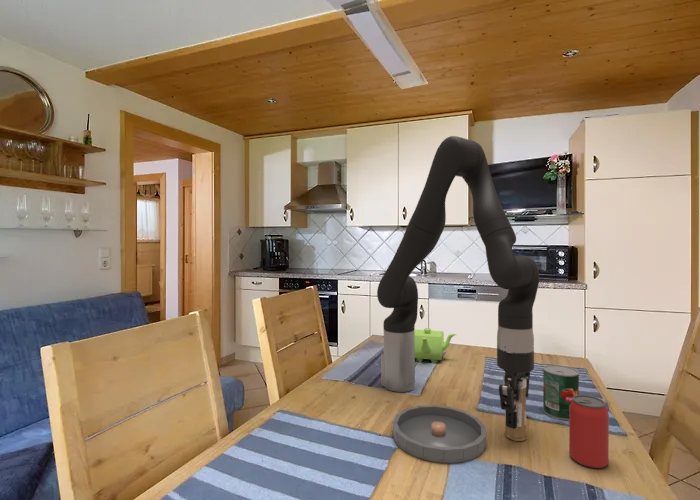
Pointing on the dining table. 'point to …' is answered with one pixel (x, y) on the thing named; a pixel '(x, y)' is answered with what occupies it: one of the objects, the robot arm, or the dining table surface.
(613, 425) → the dining table surface
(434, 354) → the kettle
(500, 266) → the robot arm
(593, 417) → the beer can
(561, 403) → the canned tomato
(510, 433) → the sprinkles bottle
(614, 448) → the dining table surface
